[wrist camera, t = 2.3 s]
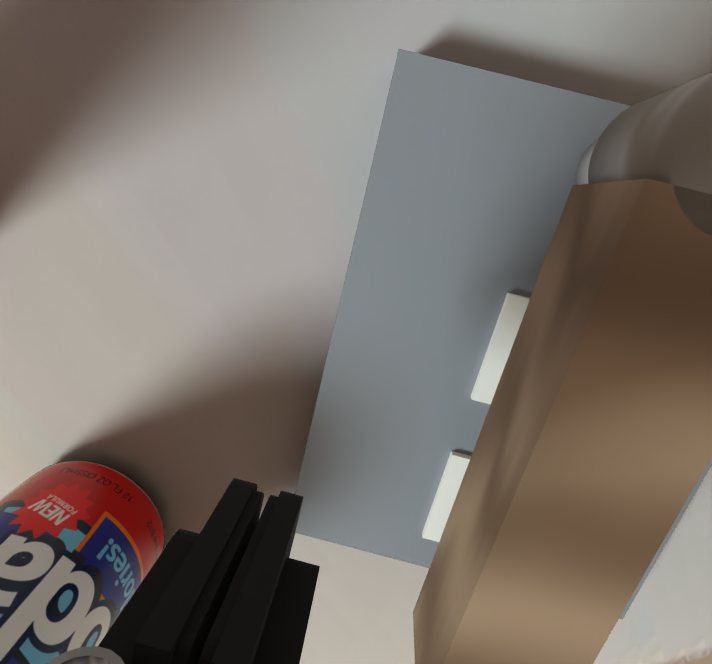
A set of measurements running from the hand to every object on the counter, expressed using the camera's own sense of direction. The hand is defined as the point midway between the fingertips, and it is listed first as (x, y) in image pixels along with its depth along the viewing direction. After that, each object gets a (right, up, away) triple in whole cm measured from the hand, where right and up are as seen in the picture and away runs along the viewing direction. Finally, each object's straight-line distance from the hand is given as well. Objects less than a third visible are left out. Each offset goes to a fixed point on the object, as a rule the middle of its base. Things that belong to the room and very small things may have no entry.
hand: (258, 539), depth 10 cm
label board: (+9, +3, +9) cm, 13 cm away
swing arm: (+9, +2, +5) cm, 10 cm away
